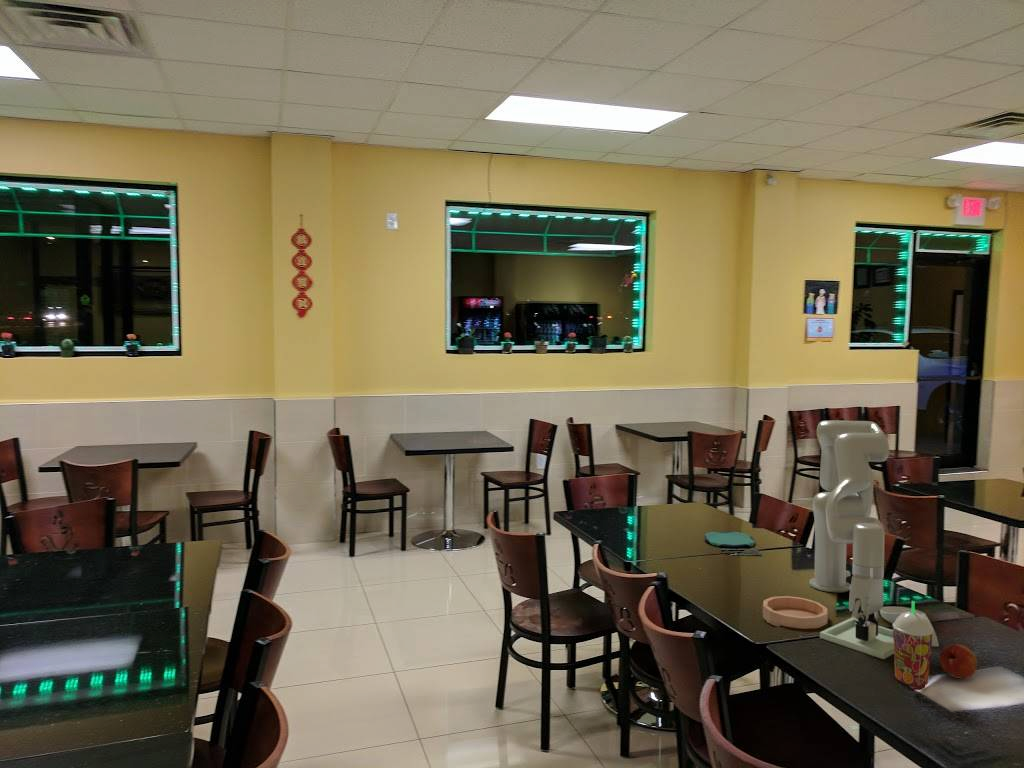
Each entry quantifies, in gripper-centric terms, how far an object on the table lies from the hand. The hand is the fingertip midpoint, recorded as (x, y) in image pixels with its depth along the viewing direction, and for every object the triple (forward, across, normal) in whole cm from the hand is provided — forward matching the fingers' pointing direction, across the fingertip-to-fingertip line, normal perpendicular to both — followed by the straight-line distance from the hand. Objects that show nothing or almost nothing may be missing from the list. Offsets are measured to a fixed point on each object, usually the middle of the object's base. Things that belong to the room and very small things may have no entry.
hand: (866, 636), depth 192 cm
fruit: (+2, +2, +23) cm, 23 cm away
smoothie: (+2, +15, +18) cm, 24 cm away
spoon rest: (+2, -18, +4) cm, 18 cm away
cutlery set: (+3, -53, -80) cm, 96 cm away
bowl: (+2, 0, -21) cm, 21 cm away
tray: (+2, 0, 0) cm, 2 cm away
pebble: (+1, 0, 0) cm, 1 cm away
